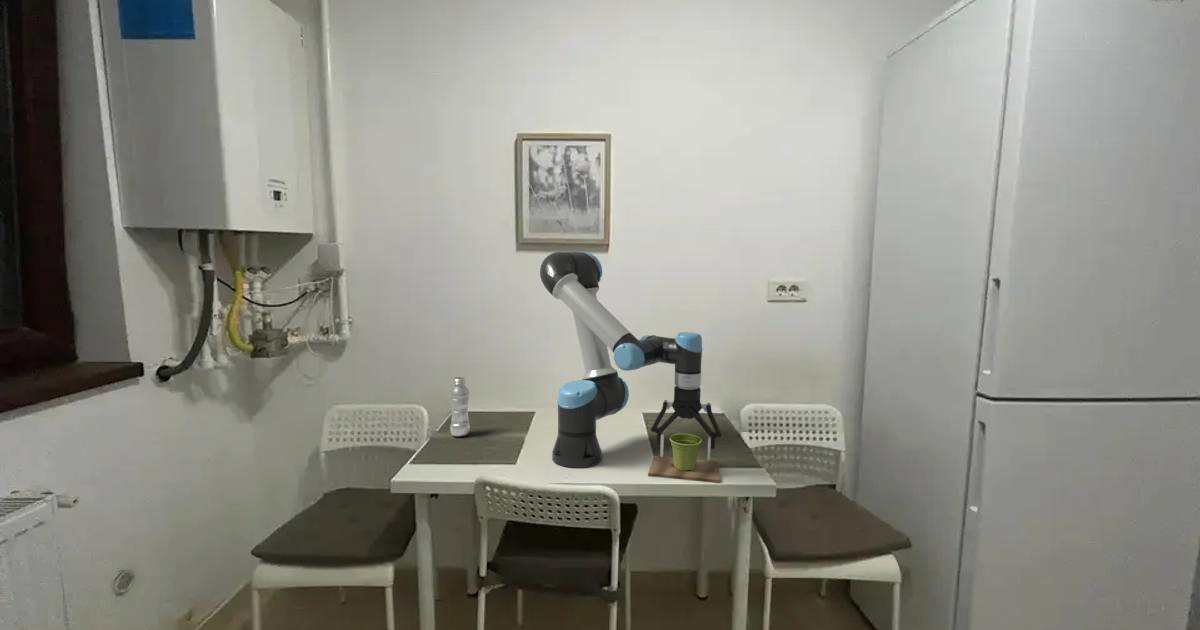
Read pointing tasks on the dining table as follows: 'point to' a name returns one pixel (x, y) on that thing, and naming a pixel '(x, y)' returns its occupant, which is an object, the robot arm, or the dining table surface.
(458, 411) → the plastic bottle
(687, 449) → the plant pot
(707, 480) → the walnut board
